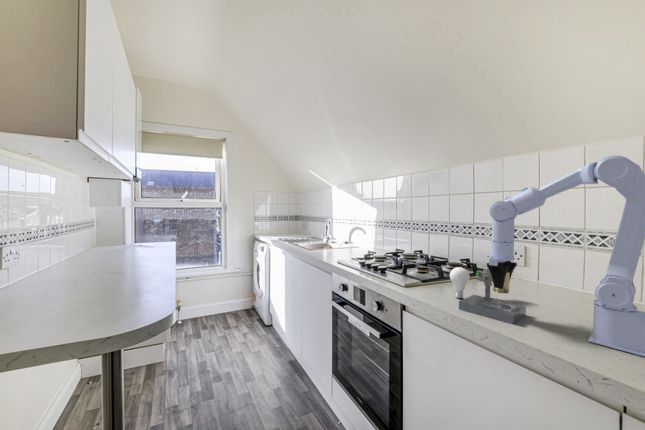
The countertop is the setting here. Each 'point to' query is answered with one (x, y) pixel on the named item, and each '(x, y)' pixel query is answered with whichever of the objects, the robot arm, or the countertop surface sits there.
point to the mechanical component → (485, 280)
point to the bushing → (506, 285)
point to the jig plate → (493, 308)
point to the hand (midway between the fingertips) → (501, 286)
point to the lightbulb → (459, 280)
